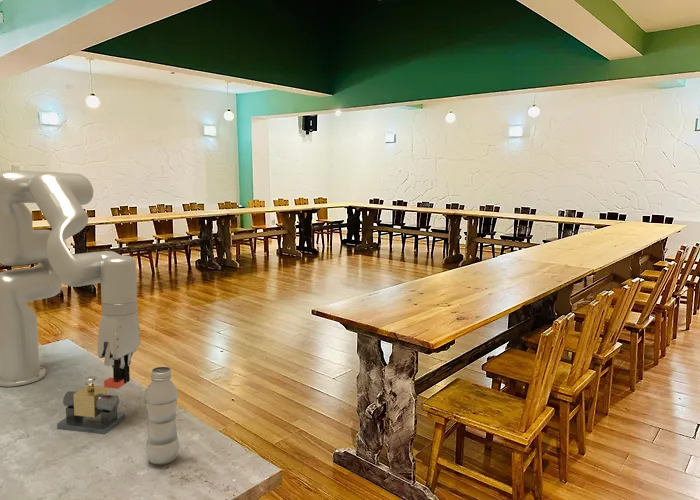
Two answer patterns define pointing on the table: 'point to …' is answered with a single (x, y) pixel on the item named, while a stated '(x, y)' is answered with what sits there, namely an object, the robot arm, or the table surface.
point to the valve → (91, 410)
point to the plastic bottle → (161, 417)
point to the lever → (105, 382)
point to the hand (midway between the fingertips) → (121, 381)
